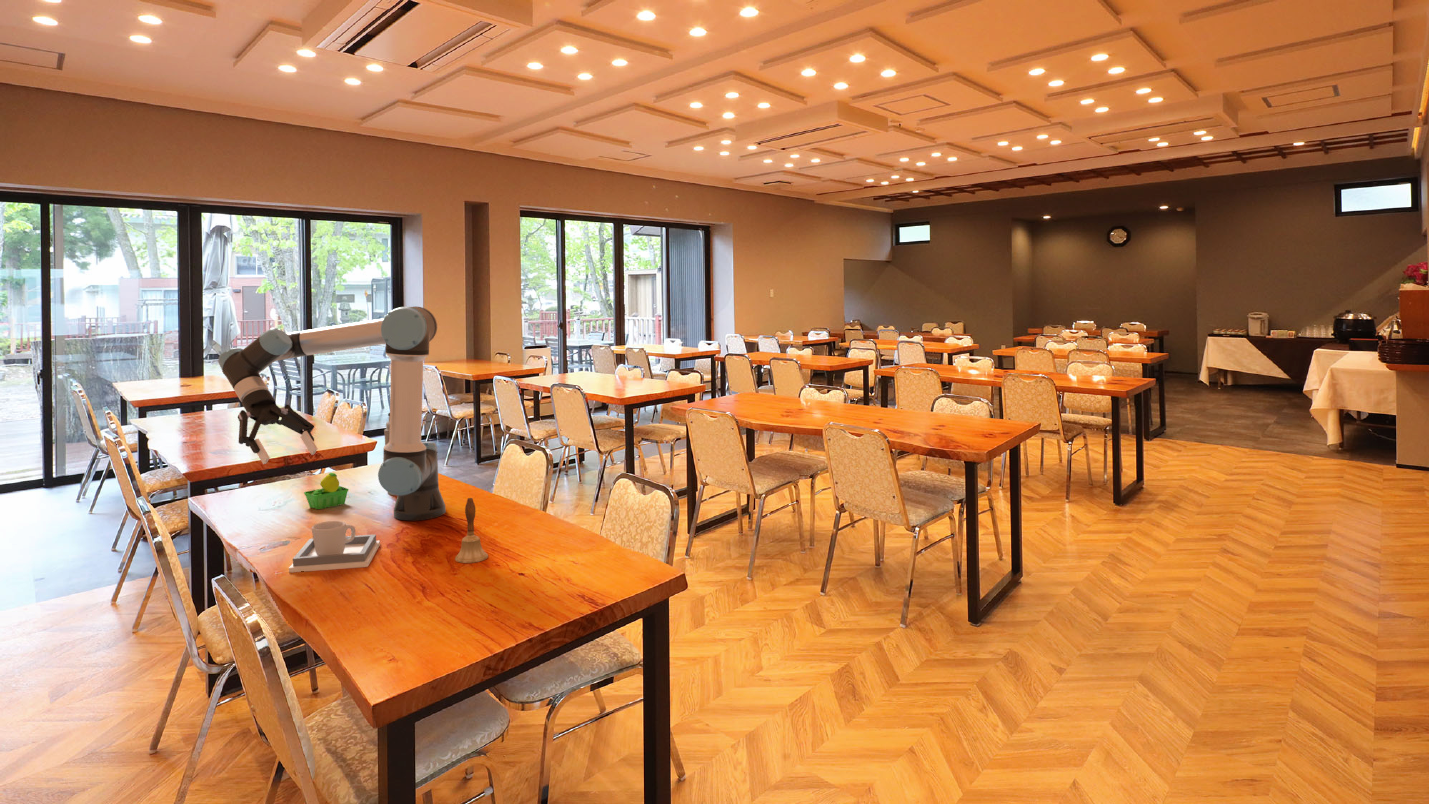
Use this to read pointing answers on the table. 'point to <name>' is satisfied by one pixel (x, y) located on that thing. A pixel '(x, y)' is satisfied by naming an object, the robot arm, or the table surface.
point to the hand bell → (471, 539)
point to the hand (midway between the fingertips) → (291, 456)
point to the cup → (331, 537)
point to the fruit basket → (327, 493)
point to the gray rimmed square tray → (337, 555)
